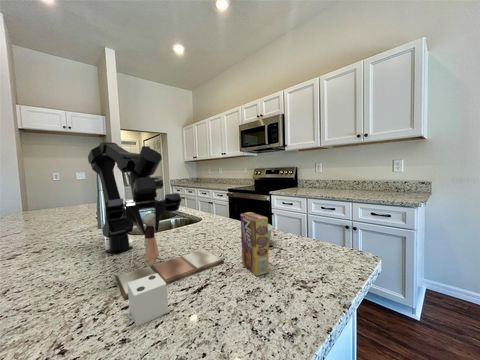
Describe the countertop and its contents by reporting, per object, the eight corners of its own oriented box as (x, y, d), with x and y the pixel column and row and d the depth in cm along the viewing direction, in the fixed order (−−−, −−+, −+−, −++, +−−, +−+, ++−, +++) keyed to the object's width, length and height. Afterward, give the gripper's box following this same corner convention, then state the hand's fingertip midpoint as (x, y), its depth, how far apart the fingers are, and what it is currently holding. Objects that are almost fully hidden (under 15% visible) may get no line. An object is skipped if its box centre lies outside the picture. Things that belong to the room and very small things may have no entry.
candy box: (270, 272, 58) (268, 217, 57) (256, 277, 56) (254, 219, 55) (254, 260, 66) (252, 211, 65) (241, 263, 64) (239, 213, 63)
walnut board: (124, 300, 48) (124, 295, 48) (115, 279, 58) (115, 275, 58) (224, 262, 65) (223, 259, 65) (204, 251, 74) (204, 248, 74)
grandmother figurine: (159, 264, 54) (157, 215, 53) (142, 267, 52) (140, 216, 51) (158, 253, 61) (157, 209, 60) (143, 256, 59) (142, 210, 59)
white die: (136, 326, 40) (133, 295, 39) (129, 310, 44) (127, 282, 44) (168, 312, 43) (166, 283, 43) (158, 298, 48) (157, 272, 48)
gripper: (102, 168, 53) (106, 221, 44) (177, 165, 63) (192, 208, 54) (105, 196, 60) (108, 246, 52) (172, 190, 70) (184, 231, 62)
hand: (150, 232), depth 55 cm, fingers closed on grandmother figurine, 3 cm apart
